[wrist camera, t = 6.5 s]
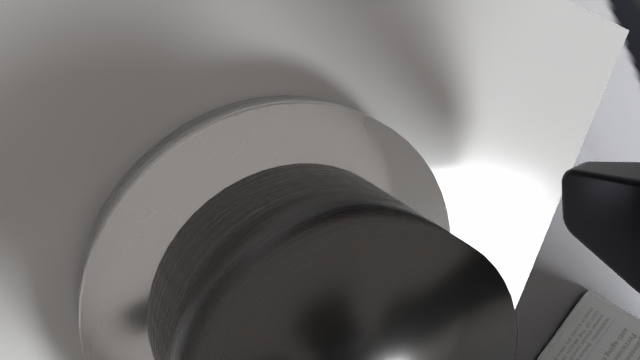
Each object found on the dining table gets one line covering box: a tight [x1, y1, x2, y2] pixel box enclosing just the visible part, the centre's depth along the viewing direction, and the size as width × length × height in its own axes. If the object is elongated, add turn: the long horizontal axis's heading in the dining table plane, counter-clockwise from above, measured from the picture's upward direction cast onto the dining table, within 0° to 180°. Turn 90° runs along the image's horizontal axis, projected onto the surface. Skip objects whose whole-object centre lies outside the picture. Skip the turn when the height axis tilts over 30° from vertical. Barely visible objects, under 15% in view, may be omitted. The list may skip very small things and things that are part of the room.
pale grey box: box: [0, 0, 629, 360], centre depth 11 cm, size 11×14×6 cm
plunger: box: [76, 95, 517, 360], centre depth 10 cm, size 8×8×8 cm
